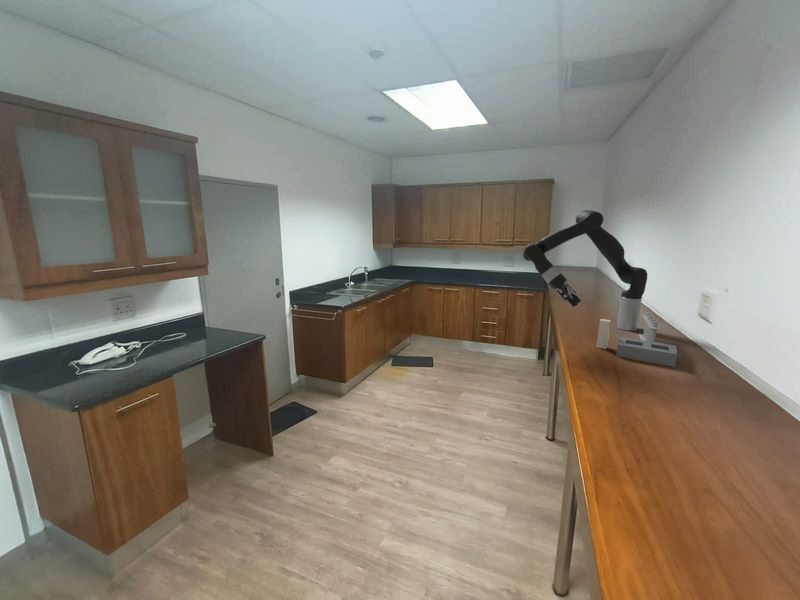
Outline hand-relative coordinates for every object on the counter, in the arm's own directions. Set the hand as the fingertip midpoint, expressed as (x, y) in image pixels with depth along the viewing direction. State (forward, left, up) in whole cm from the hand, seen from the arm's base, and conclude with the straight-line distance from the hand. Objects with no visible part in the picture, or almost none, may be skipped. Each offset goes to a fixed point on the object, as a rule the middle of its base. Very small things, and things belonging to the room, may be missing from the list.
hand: (577, 304), depth 163 cm
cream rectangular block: (0, +12, -19) cm, 22 cm away
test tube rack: (-18, +29, -19) cm, 39 cm away
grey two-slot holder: (+3, +28, -19) cm, 34 cm away
